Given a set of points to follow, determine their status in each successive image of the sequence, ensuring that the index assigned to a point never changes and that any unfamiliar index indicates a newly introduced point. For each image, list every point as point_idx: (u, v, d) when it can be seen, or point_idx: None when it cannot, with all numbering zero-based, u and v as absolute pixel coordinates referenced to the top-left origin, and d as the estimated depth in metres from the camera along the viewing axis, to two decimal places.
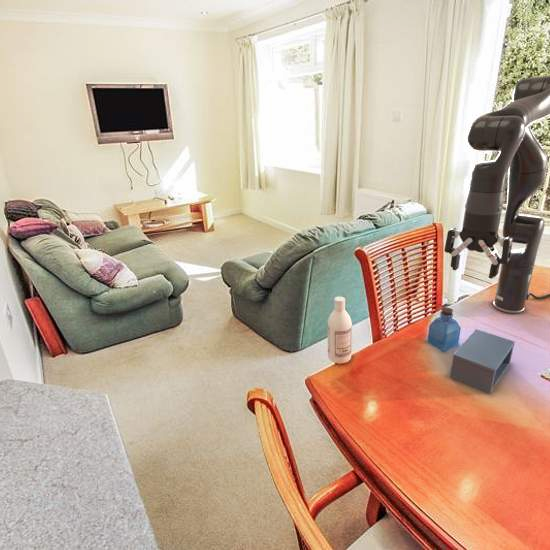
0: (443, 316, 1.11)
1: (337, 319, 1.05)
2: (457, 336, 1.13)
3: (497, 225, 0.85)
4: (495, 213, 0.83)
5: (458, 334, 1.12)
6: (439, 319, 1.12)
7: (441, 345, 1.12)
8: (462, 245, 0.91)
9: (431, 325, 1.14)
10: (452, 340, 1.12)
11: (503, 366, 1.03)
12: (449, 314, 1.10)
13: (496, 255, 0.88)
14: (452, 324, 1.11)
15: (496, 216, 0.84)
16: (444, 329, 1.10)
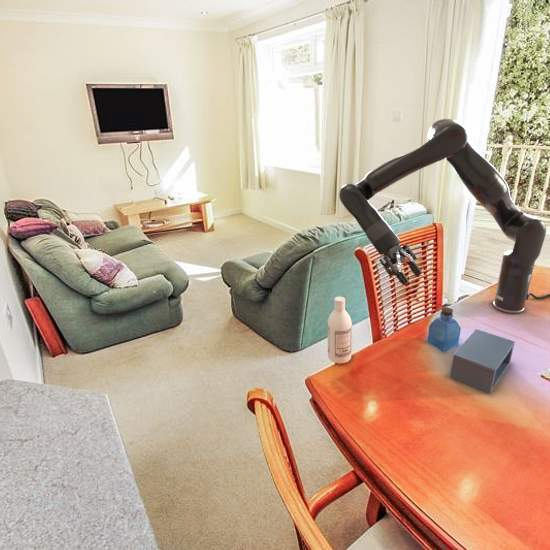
0: (443, 316, 1.11)
1: (337, 319, 1.05)
2: (457, 336, 1.13)
3: (380, 248, 1.16)
4: (372, 242, 1.17)
5: (458, 334, 1.12)
6: (439, 319, 1.12)
7: (441, 345, 1.12)
8: None
9: (431, 325, 1.14)
10: (452, 340, 1.12)
11: (503, 366, 1.03)
12: (449, 314, 1.10)
13: None
14: (452, 324, 1.11)
15: (374, 244, 1.17)
16: (444, 329, 1.10)
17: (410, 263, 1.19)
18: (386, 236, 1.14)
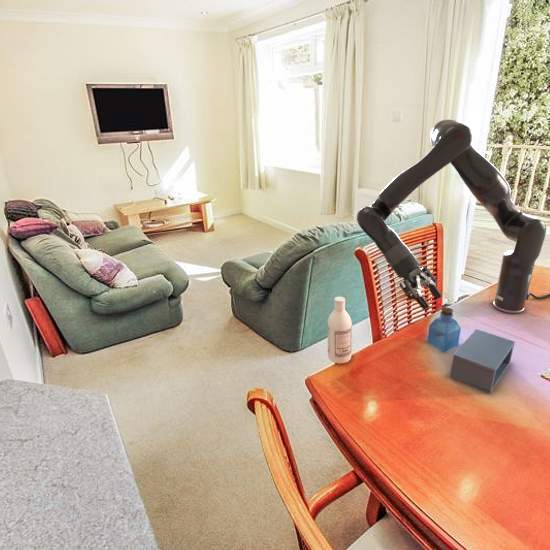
0: (443, 316, 1.11)
1: (337, 319, 1.05)
2: (457, 336, 1.13)
3: (400, 272, 1.14)
4: (391, 265, 1.16)
5: (458, 334, 1.12)
6: (439, 319, 1.12)
7: (441, 345, 1.12)
8: None
9: (431, 325, 1.14)
10: (452, 340, 1.12)
11: (503, 366, 1.03)
12: (449, 314, 1.10)
13: None
14: (452, 324, 1.11)
15: (393, 267, 1.15)
16: (444, 329, 1.10)
17: (430, 286, 1.17)
18: (406, 260, 1.13)
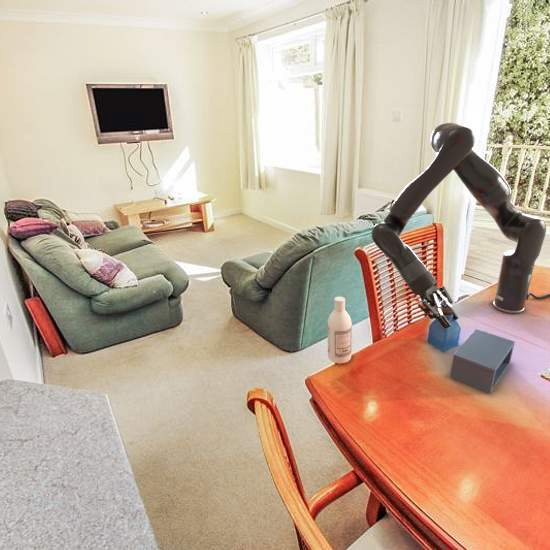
0: None
1: (337, 319, 1.05)
2: (457, 336, 1.13)
3: (416, 290, 1.12)
4: (407, 283, 1.14)
5: (458, 334, 1.12)
6: None
7: (441, 345, 1.12)
8: None
9: (431, 325, 1.14)
10: (452, 340, 1.12)
11: (503, 366, 1.03)
12: (449, 314, 1.10)
13: None
14: (452, 324, 1.11)
15: (409, 284, 1.13)
16: (444, 329, 1.10)
17: None
18: (422, 277, 1.10)
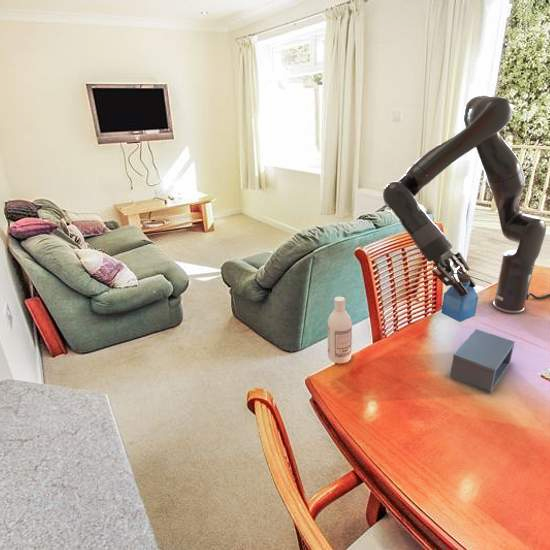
0: None
1: (337, 319, 1.05)
2: (474, 305, 1.04)
3: (430, 255, 1.03)
4: (420, 248, 1.05)
5: (475, 303, 1.04)
6: None
7: (457, 315, 1.04)
8: None
9: (446, 294, 1.05)
10: (469, 310, 1.04)
11: (503, 366, 1.03)
12: (466, 281, 1.01)
13: None
14: (469, 291, 1.02)
15: (422, 249, 1.05)
16: (460, 297, 1.02)
17: None
18: (437, 241, 1.02)
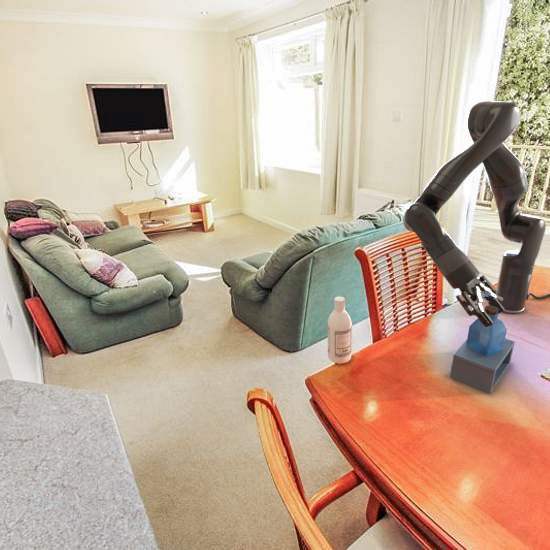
0: None
1: (337, 319, 1.05)
2: (502, 339, 0.97)
3: (455, 282, 0.96)
4: (445, 274, 0.98)
5: (503, 336, 0.97)
6: None
7: (484, 350, 0.97)
8: None
9: (472, 326, 0.99)
10: (497, 344, 0.97)
11: (503, 366, 1.03)
12: (494, 313, 0.95)
13: None
14: (497, 324, 0.95)
15: (447, 276, 0.97)
16: (488, 330, 0.95)
17: (490, 298, 0.99)
18: (463, 268, 0.95)
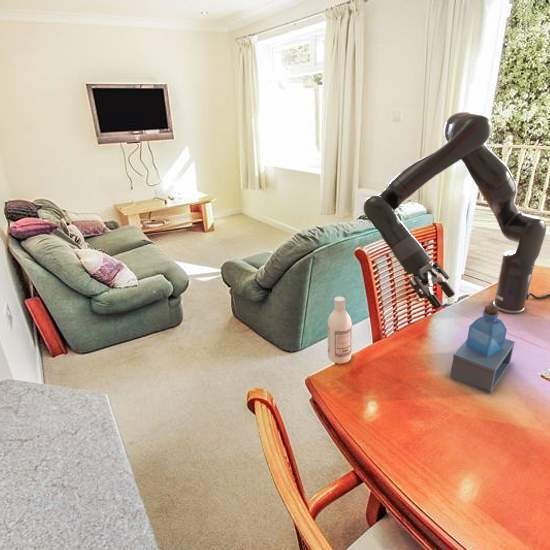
0: (487, 315, 0.95)
1: (337, 319, 1.05)
2: (502, 339, 0.97)
3: (409, 268, 1.04)
4: (400, 261, 1.06)
5: (504, 336, 0.97)
6: (481, 319, 0.97)
7: (484, 350, 0.97)
8: None
9: (472, 326, 0.99)
10: (497, 344, 0.97)
11: (503, 366, 1.03)
12: (494, 313, 0.95)
13: None
14: (497, 324, 0.95)
15: (402, 263, 1.06)
16: (488, 330, 0.95)
17: (442, 283, 1.07)
18: (416, 254, 1.03)
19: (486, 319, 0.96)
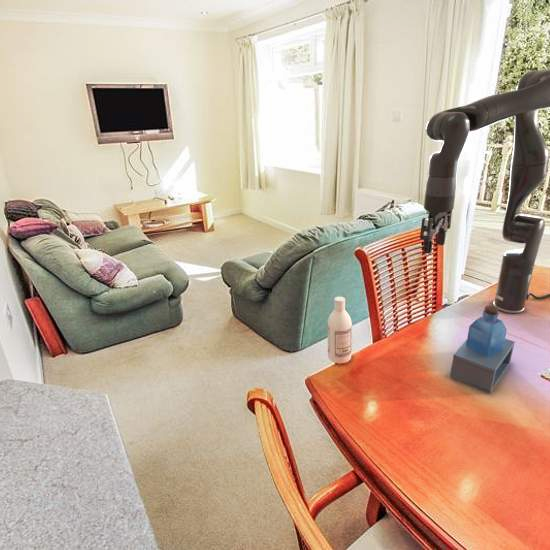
0: (487, 315, 0.95)
1: (337, 319, 1.05)
2: (502, 339, 0.97)
3: (430, 206, 1.00)
4: (427, 194, 1.00)
5: (503, 336, 0.97)
6: (481, 319, 0.97)
7: (484, 350, 0.97)
8: None
9: (472, 326, 0.99)
10: (497, 344, 0.97)
11: (503, 366, 1.03)
12: (494, 313, 0.95)
13: None
14: (497, 324, 0.95)
15: (428, 197, 1.00)
16: (488, 330, 0.95)
17: (441, 230, 1.08)
18: (446, 199, 0.98)
19: (486, 319, 0.96)
